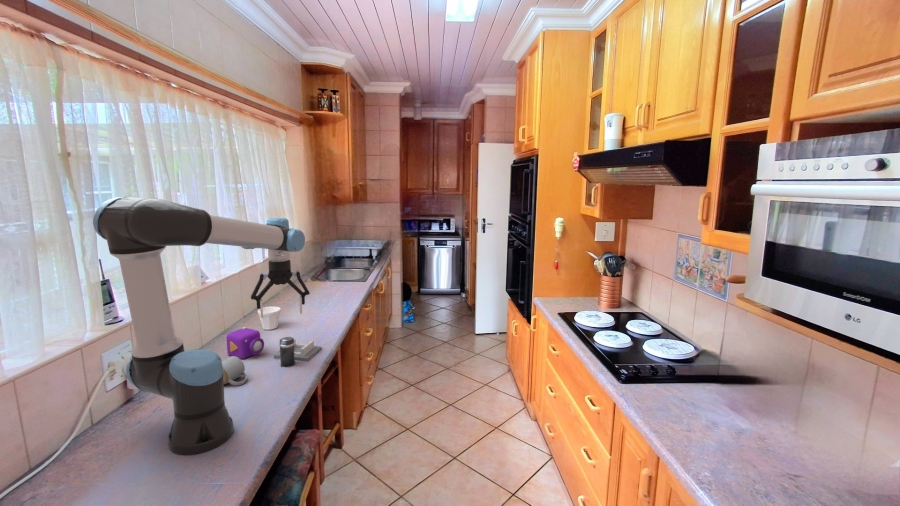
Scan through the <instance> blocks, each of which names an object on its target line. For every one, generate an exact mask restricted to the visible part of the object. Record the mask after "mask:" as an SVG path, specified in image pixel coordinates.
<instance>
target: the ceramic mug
mask: <svg viewBox="0 0 900 506" xmlns="http://www.w3.org/2000/svg"><path fill="white" fill-rule="evenodd" d="M222 366H223V381H224V385H227V384H230V385H231V386H232V385H233V386H242V385H244V384H245V383H246V382H247V379H248V377H247V373H246V372H245V369H246V367H245V364H244V361H242V358H238V357H235V356H229V357H227V358H226V359H224V360H222ZM240 377H243V378H244V379H243V380H241V381H235V380H236V379H239V378H240Z"/></svg>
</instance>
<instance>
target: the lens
mask: <svg viewBox="0 0 900 506" xmlns="http://www.w3.org/2000/svg"><path fill="white" fill-rule="evenodd" d="M294 339H295V338H294V337H292V336H285V337H281V338H280V339H279V351H280V367H282V368H290V367H293V366H295V363H296V362H295V361H296V360H295V358H294Z"/></svg>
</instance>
